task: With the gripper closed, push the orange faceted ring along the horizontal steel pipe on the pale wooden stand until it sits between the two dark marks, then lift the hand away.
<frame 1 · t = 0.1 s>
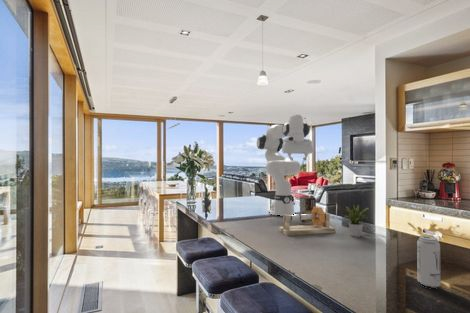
hand: (298, 160, 182), 39 cm above the kitchen island, tool pointing down, fingers open, 8 cm apart
house plant: (357, 236, 147), on the kitchen island
orange faceted ring: (317, 216, 158), point 8 cm above the kitchen island, slide at 0.0 cm
pipe stand: (306, 231, 156), on the kitchen island
energy drink can: (428, 285, 90), on the kitchen island
steel pipe: (306, 216, 156), point 8 cm above the kitchen island
coffee box: (307, 223, 175), on the kitchen island
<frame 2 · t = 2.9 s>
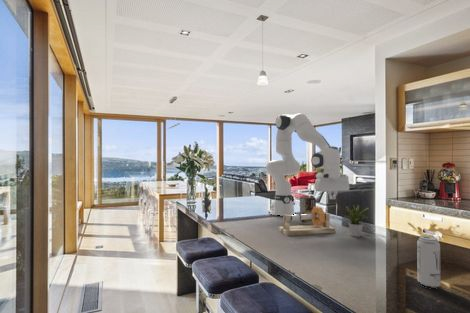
hand: (332, 199, 160), 17 cm above the kitchen island, tool pointing down, fingers closed
nothing on the kitchen island moved.
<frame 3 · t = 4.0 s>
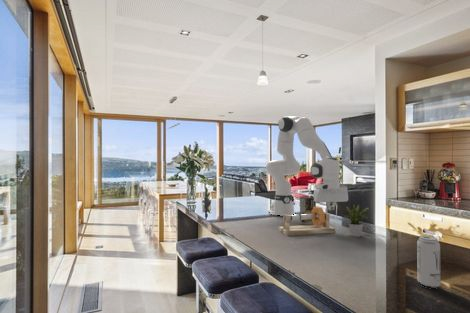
hand: (331, 209, 160), 11 cm above the kitchen island, tool pointing down, fingers closed
nothing on the kitchen island moved.
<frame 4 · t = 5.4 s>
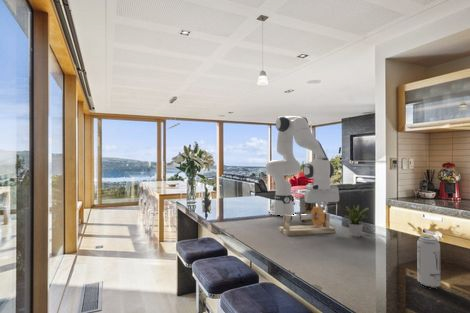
hand: (322, 210, 159), 11 cm above the kitchen island, tool pointing down, fingers closed
orange faceted ring: (317, 216, 158), point 8 cm above the kitchen island, slide at 0.1 cm, touching gripper
everything else where it was.
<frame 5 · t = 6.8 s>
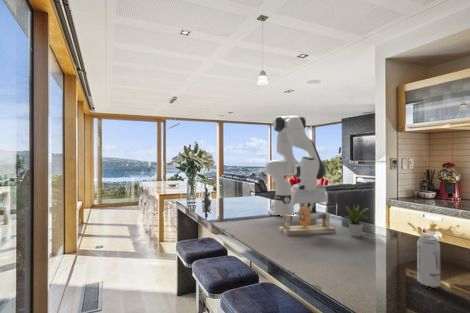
hand: (308, 210, 157), 11 cm above the kitchen island, tool pointing down, fingers closed
orange faceted ring: (304, 216, 156), point 8 cm above the kitchen island, slide at 8.3 cm, touching gripper
everything else where it was.
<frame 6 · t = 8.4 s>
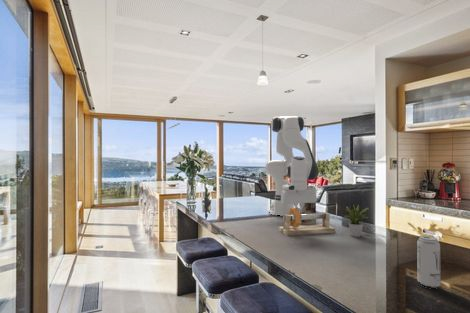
hand: (298, 211, 155), 11 cm above the kitchen island, tool pointing down, fingers closed
orange faceted ring: (294, 217, 155), point 8 cm above the kitchen island, slide at 14.3 cm, touching gripper
everything else where it was.
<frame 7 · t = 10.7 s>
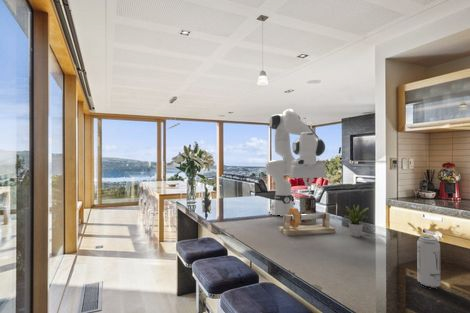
hand: (308, 186, 157), 25 cm above the kitchen island, tool pointing down, fingers closed
orange faceted ring: (293, 217, 155), point 8 cm above the kitchen island, slide at 14.5 cm
everything else where it was.
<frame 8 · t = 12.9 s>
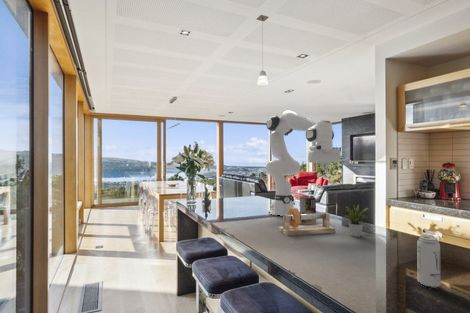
hand: (324, 170, 170), 33 cm above the kitchen island, tool pointing down, fingers closed
nothing on the kitchen island moved.
at the end: orange faceted ring slide at 14.5 cm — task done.
